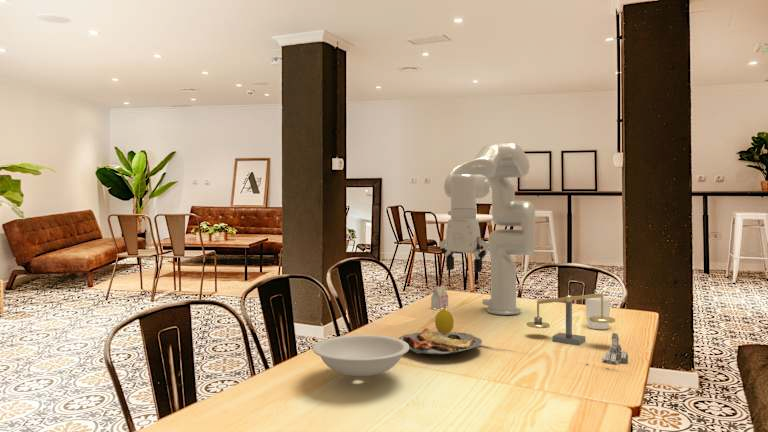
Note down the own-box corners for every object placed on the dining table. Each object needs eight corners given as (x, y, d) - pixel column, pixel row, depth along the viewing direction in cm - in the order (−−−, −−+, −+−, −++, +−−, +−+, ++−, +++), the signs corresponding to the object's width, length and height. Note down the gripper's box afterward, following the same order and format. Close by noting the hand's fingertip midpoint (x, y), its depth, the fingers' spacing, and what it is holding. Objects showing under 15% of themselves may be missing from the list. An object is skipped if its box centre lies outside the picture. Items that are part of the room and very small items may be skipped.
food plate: (381, 348, 157) (381, 336, 157) (430, 334, 174) (429, 323, 174) (449, 364, 140) (449, 351, 140) (496, 347, 157) (496, 335, 157)
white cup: (605, 325, 184) (606, 296, 184) (613, 330, 176) (613, 300, 176) (582, 324, 185) (582, 296, 185) (589, 329, 177) (589, 300, 177)
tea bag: (431, 312, 208) (431, 287, 208) (440, 309, 214) (440, 285, 214) (439, 313, 206) (439, 287, 206) (448, 310, 212) (448, 285, 211)
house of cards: (633, 371, 132) (633, 341, 132) (598, 364, 138) (598, 335, 138) (646, 364, 139) (646, 335, 138) (612, 357, 145) (612, 329, 145)
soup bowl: (375, 395, 115) (375, 365, 115) (292, 377, 128) (292, 350, 128) (426, 367, 135) (426, 341, 135) (350, 354, 148) (350, 330, 148)
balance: (523, 336, 167) (523, 287, 167) (532, 332, 173) (532, 285, 173) (611, 350, 151) (611, 296, 151) (618, 345, 156) (618, 293, 156)
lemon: (455, 333, 161) (454, 307, 161) (452, 338, 156) (451, 311, 156) (437, 332, 163) (436, 307, 162) (434, 337, 157) (432, 311, 157)
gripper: (432, 214, 163) (433, 270, 164) (482, 215, 152) (482, 274, 153) (446, 214, 169) (446, 267, 170) (495, 214, 158) (495, 271, 158)
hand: (463, 270), depth 161 cm, fingers open, 9 cm apart
